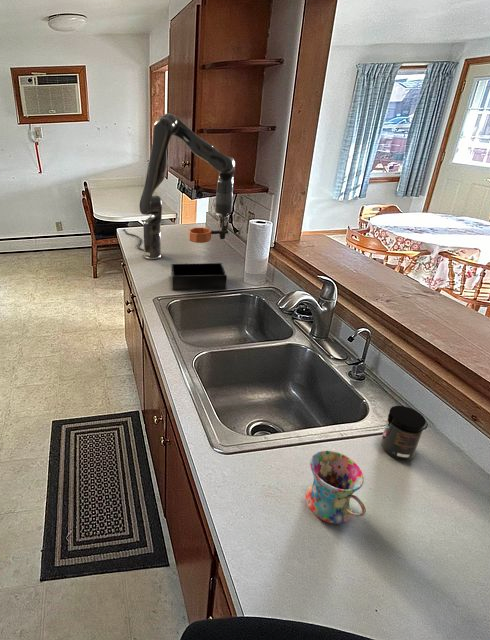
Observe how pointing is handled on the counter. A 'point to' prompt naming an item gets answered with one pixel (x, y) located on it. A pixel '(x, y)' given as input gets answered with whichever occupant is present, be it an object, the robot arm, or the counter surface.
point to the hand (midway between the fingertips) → (222, 238)
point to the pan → (202, 235)
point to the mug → (334, 486)
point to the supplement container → (402, 432)
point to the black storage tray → (198, 276)
